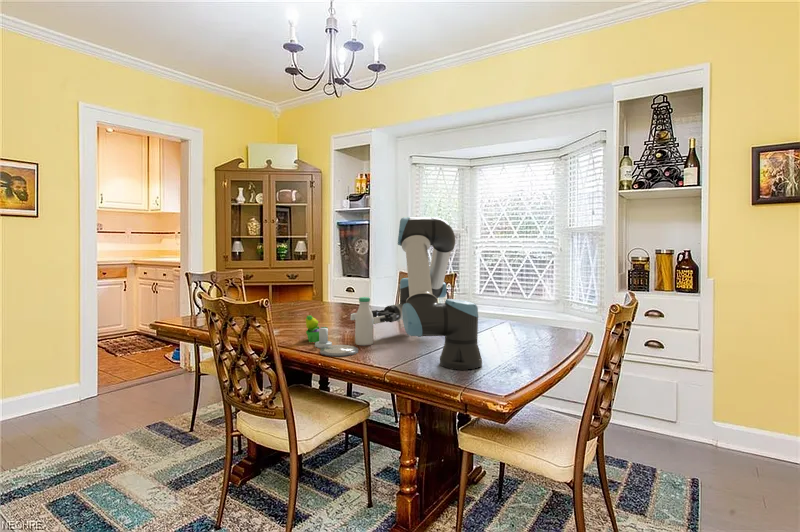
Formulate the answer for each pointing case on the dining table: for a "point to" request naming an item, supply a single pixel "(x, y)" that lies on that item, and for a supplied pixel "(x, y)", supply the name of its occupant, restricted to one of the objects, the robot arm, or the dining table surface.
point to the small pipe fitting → (323, 338)
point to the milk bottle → (364, 323)
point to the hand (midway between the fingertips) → (362, 318)
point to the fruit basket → (312, 329)
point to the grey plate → (339, 350)
